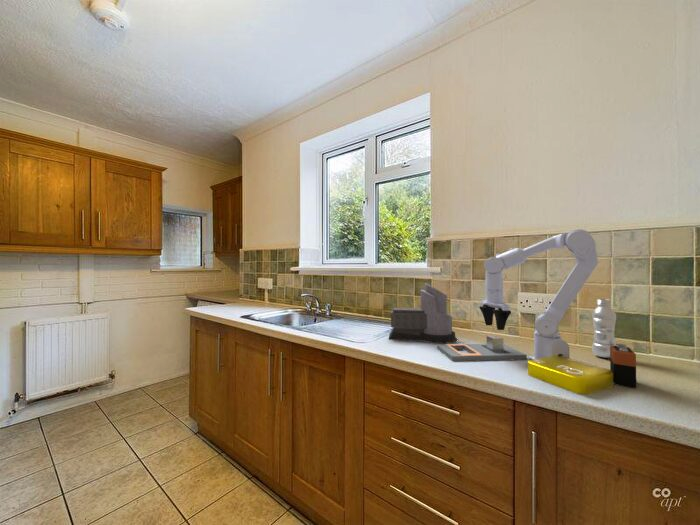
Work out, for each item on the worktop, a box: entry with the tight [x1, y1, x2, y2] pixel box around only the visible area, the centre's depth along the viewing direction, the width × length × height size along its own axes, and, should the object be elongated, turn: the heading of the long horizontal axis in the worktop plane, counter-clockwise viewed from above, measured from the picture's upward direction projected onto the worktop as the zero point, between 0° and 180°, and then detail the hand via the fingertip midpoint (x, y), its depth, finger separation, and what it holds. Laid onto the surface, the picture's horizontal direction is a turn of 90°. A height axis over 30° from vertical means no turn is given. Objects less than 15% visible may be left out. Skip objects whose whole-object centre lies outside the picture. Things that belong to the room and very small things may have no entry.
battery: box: [609, 343, 637, 389], centre depth 76 cm, size 4×7×10 cm, turn 143°
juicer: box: [388, 283, 459, 344], centre depth 125 cm, size 30×16×24 cm, turn 80°
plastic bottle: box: [591, 298, 617, 359], centre depth 97 cm, size 6×7×20 cm
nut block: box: [486, 335, 505, 354], centre depth 102 cm, size 4×4×6 cm
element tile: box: [527, 355, 615, 395], centre depth 79 cm, size 15×15×5 cm
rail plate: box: [436, 343, 528, 362], centre depth 102 cm, size 14×26×2 cm, turn 93°
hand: (494, 327), depth 102 cm, fingers open, 7 cm apart
